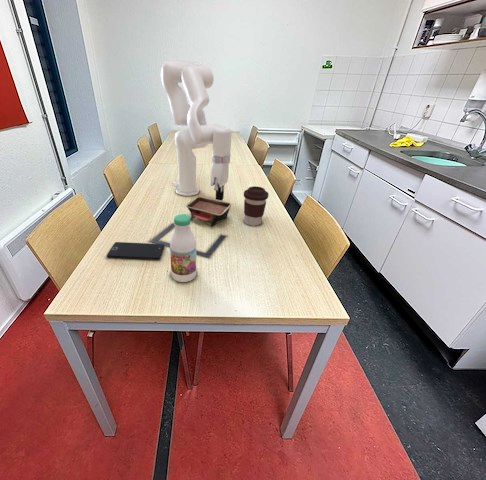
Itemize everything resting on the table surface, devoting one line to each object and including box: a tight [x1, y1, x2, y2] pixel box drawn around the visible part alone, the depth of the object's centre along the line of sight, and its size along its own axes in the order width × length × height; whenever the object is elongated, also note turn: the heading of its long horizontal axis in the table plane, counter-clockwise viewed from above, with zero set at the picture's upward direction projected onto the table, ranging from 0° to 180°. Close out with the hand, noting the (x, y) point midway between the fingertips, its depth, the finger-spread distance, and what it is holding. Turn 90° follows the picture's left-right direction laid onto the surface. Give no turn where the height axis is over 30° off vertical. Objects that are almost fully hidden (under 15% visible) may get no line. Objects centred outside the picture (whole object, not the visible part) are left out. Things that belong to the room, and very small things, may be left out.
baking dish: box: [185, 196, 232, 227], centre depth 116 cm, size 14×18×10 cm
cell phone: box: [106, 241, 165, 261], centre depth 94 cm, size 9×18×1 cm, turn 87°
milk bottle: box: [169, 213, 197, 283], centre depth 79 cm, size 8×8×20 cm
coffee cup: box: [243, 185, 270, 227], centre depth 113 cm, size 10×10×15 cm
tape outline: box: [149, 222, 226, 258], centre depth 103 cm, size 24×16×1 cm
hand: (219, 199), depth 124 cm, fingers closed
